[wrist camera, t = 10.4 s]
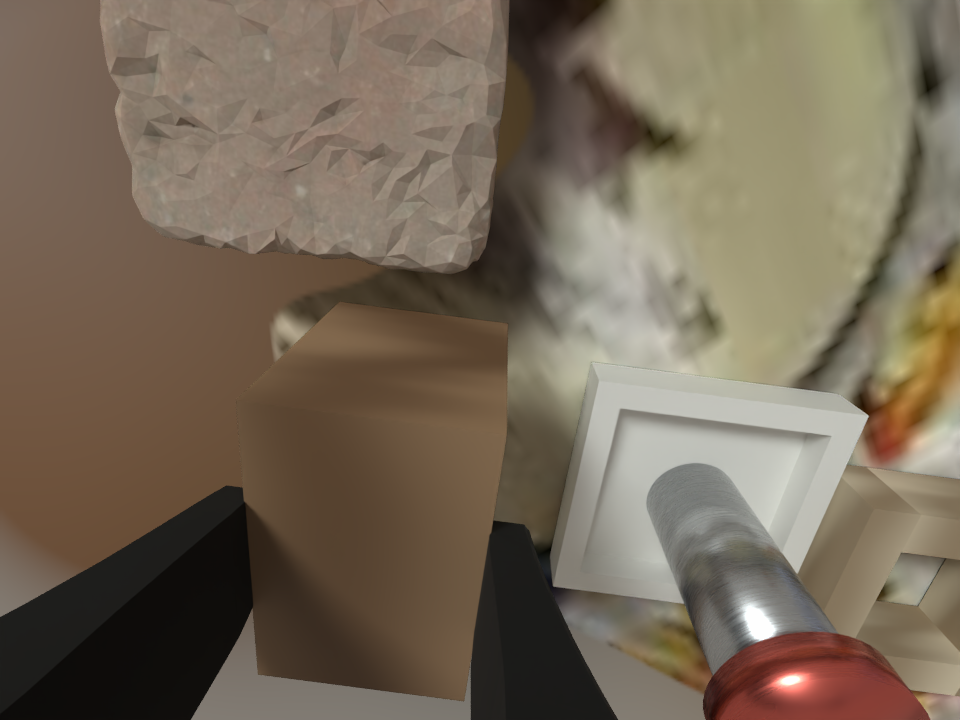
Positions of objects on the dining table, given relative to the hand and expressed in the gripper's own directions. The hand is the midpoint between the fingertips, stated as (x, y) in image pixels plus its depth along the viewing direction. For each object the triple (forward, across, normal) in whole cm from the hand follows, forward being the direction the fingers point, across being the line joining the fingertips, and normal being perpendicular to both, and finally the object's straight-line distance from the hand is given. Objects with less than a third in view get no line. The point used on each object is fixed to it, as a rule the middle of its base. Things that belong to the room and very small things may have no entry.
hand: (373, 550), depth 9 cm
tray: (+8, -9, +3) cm, 13 cm away
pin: (+8, -9, +3) cm, 13 cm away
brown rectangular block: (+4, 0, 0) cm, 5 cm away
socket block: (+8, -17, +5) cm, 20 cm away
